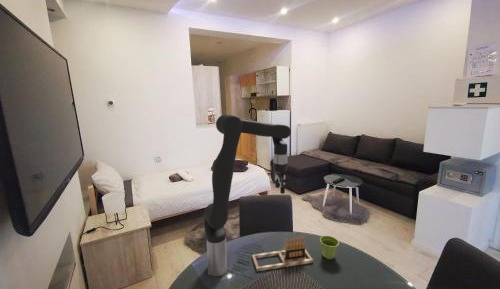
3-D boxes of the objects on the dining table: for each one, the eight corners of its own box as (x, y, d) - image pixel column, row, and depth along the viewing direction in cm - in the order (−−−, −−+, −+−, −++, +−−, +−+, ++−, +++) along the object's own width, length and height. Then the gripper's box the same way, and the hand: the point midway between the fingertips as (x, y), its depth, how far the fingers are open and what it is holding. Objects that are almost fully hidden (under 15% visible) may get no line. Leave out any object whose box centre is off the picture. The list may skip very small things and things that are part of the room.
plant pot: (335, 250, 127) (336, 236, 125) (340, 262, 118) (341, 246, 116) (317, 249, 128) (318, 235, 126) (321, 261, 119) (322, 245, 117)
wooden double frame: (256, 271, 112) (256, 268, 111) (252, 257, 122) (252, 254, 121) (313, 262, 118) (313, 259, 117) (304, 249, 127) (304, 247, 127)
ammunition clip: (285, 260, 119) (286, 238, 117) (284, 257, 121) (285, 236, 118) (305, 257, 121) (306, 236, 119) (303, 254, 123) (304, 234, 121)
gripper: (269, 158, 131) (269, 186, 134) (277, 165, 117) (277, 196, 120) (282, 158, 132) (282, 185, 135) (292, 164, 118) (291, 194, 121)
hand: (279, 190), depth 128 cm, fingers open, 8 cm apart
